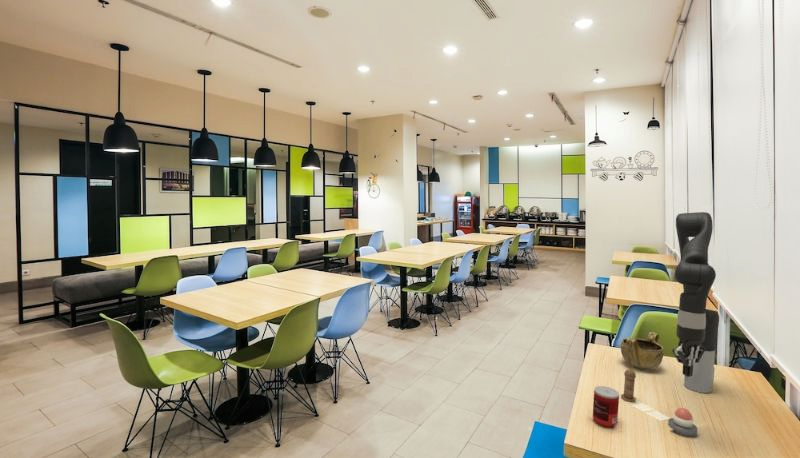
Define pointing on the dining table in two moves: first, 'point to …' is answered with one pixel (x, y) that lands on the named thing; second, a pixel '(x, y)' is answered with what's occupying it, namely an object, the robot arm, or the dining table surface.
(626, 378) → the pawn
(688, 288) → the robot arm
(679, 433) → the dome housing
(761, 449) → the dining table surface
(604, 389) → the canned food
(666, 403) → the dining table surface
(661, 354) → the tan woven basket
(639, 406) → the track
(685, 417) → the dome plunger
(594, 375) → the dining table surface
